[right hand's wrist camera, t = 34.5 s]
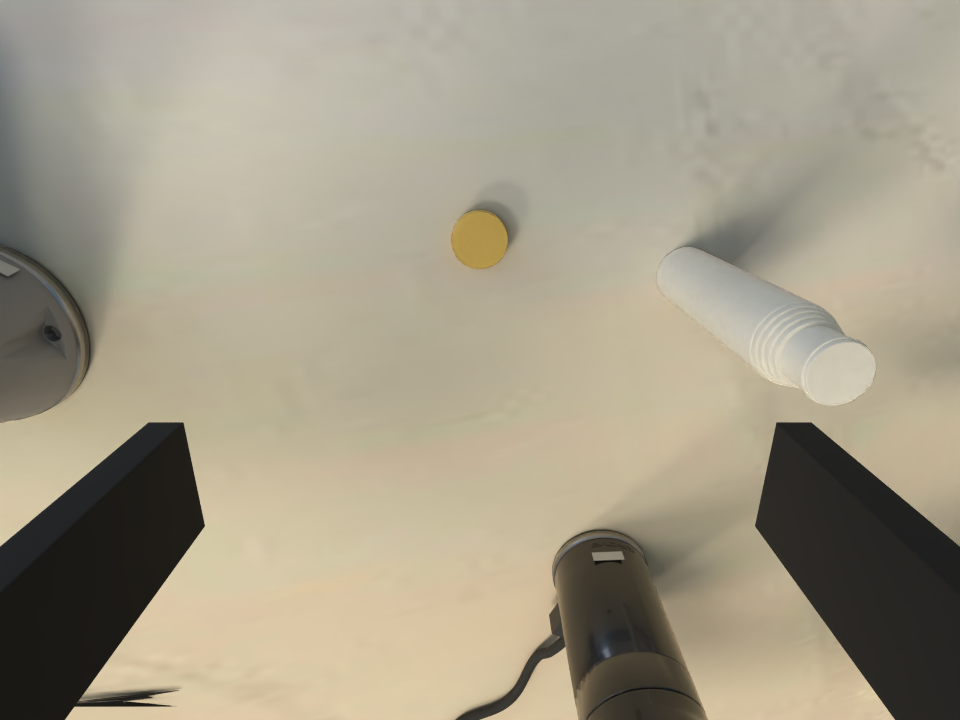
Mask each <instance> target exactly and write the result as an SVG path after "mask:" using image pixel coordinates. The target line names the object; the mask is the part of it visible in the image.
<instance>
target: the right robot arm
mask: <svg viewBox="0 0 960 720" xmlns="http://www.w3.org/2000/svg"><path fill="white" fill-rule="evenodd" d="M88 361H89V339H88V334H87V330H86V327H85V323H84V321H83V318H82V316H81V314H80V312H79V310H78V308H77V306H76V304H75V303H74V301H73V299H72V298H71V296H70V295H69V294H68V292H67V291H66V290H65V289H64V287H63V286H62V285H61V284H60V283H59V282H58V281H57V280H56V279H55V278H54V277H53V276H52V275H51V274H50V273H49V272H48V271H47V270H45V269H44V268H43V267H41V266H40V265H39V264H37V263H36V262H34V261H33V260H31V259H30V258H28V257H26V256H24V255H23V254H21V253H19V252H17V251H14V250H12V249H10V248H7V247H4V246H1V245H0V423H2V422H7V421H11V420H20V419H24V418H28V417H31V416H34V415H37V414H40V413H42V412H44V411H46V410H48V409H50V408H52V407H53V406H55V405H57V404H58V403H60V402H61V401H63V400H65V399H66V398H67V397H69V396H70V395H71V394H72V393H73V392H74V391H75V390H76V389H77V387H78V386H79V385H80V383H81V381H82V379H83V378H84V375H85V373H86V370H87V366H88ZM204 527H205V524H204V520H203V515H202V510H201V505H200V500H199V495H198V491H197V486H196V481H195V476H194V471H193V467H192V462H191V457H190V452H189V447H188V442H187V438H186V433H185V428H184V423H148V424H146V425H145V426H144V427H143V428H142V429H140V430H139V431H138V432H137V433H136V434H134V435H133V436H132V437H131V438H130V439H128V440H127V441H126V442H125V443H124V444H122V445H121V446H120V447H119V448H118V449H117V450H115V451H114V452H113V453H112V454H111V455H109V456H108V457H107V458H106V459H105V460H103V461H102V462H101V463H100V464H99V465H97V466H96V467H95V468H94V469H93V470H91V471H90V472H89V473H88V474H87V475H85V476H84V477H83V478H82V479H81V480H79V481H78V482H77V483H76V484H75V485H73V486H72V487H71V488H70V489H69V490H67V491H66V492H65V493H64V494H63V495H61V496H60V497H59V498H58V499H57V500H56V501H54V502H53V503H52V504H51V505H50V506H48V507H47V508H46V509H45V510H44V511H42V512H41V513H40V514H39V515H38V516H36V517H35V518H34V519H33V520H32V521H30V522H29V523H28V524H27V525H26V526H24V527H23V528H22V529H21V530H20V531H18V532H17V533H16V534H15V535H14V536H12V537H11V538H10V539H9V540H8V541H6V542H5V543H4V544H3V545H2V546H0V720H65V719H66V717H67V716H68V715H69V713H70V712H71V711H72V709H73V708H74V706H75V705H76V704H77V702H78V701H79V699H80V698H81V697H82V695H83V694H84V693H85V691H86V690H87V688H88V687H89V686H90V684H91V683H92V681H93V680H94V679H95V677H96V676H97V675H98V673H99V672H100V670H101V669H102V668H103V666H104V665H105V663H106V662H107V661H108V659H109V658H110V657H111V655H112V654H113V652H114V651H115V650H116V648H117V647H118V646H119V644H120V643H121V641H122V640H123V639H124V637H125V636H126V634H127V633H128V632H129V630H130V629H131V628H132V626H133V625H134V623H135V622H136V621H137V619H138V618H139V616H140V615H141V614H142V612H143V611H144V610H145V608H146V607H147V605H148V604H149V603H150V601H151V600H152V599H153V597H154V596H155V594H156V593H157V592H158V590H159V589H160V587H161V586H162V585H163V583H164V582H165V581H166V579H167V578H168V576H169V575H170V574H171V572H172V571H173V569H174V568H175V567H176V565H177V564H178V563H179V561H180V560H181V558H182V557H183V556H184V554H185V553H186V551H187V550H188V549H189V547H190V546H191V545H192V543H193V542H194V540H195V539H196V538H197V536H198V535H199V534H200V532H201V531H202V529H203V528H204ZM755 527H756V528H757V529H758V531H759V532H760V534H761V535H762V536H763V538H764V539H765V540H766V542H767V543H768V545H769V546H770V547H771V549H772V550H773V551H774V553H775V554H776V556H777V557H778V558H779V560H780V561H781V563H782V564H783V565H784V567H785V568H786V569H787V571H788V572H789V574H790V575H791V576H792V578H793V579H794V581H795V582H796V583H797V585H798V586H799V587H800V589H801V590H802V592H803V593H804V594H805V596H806V597H807V599H808V600H809V601H810V603H811V604H812V605H813V607H814V608H815V610H816V611H817V612H818V614H819V615H820V616H821V618H822V619H823V621H824V622H825V623H826V625H827V626H828V628H829V629H830V630H831V632H832V633H833V634H834V636H835V637H836V639H837V640H838V641H839V643H840V644H841V646H842V647H843V648H844V650H845V651H846V652H847V654H848V655H849V657H850V658H851V659H852V661H853V662H854V663H855V665H856V666H857V668H858V669H859V670H860V672H861V673H862V675H863V676H864V677H865V679H866V680H867V681H868V683H869V684H870V686H871V687H872V688H873V690H874V691H875V693H876V694H877V695H878V697H879V698H880V699H881V701H882V702H883V704H884V705H885V706H886V708H887V709H888V711H889V712H890V713H891V715H892V716H893V717H894V719H895V720H960V546H958V545H957V544H956V543H955V542H954V541H952V540H951V539H950V538H949V537H948V536H946V535H945V534H944V533H943V532H942V531H940V530H939V529H938V528H937V527H936V526H934V525H933V524H932V523H931V522H930V521H928V520H927V519H926V518H925V517H924V516H922V515H921V514H920V513H919V512H918V511H916V510H915V509H914V508H913V507H912V506H910V505H909V504H908V503H907V502H906V501H904V500H903V499H902V498H901V497H900V496H899V495H897V494H896V493H895V492H894V491H893V490H891V489H890V488H889V487H888V486H887V485H885V484H884V483H883V482H882V481H881V480H879V479H878V478H877V477H876V476H875V475H873V474H872V473H871V472H870V471H869V470H867V469H866V468H865V467H864V466H863V465H861V464H860V463H859V462H858V461H857V460H855V459H854V458H853V457H852V456H851V455H849V454H848V453H847V452H846V451H845V450H843V449H842V448H841V447H840V446H839V445H838V444H836V443H835V442H834V441H833V440H832V439H830V438H829V437H828V436H827V435H826V434H824V433H823V432H822V431H821V430H820V429H818V428H817V427H816V426H815V425H814V424H812V423H776V428H775V433H774V438H773V442H772V447H771V452H770V457H769V462H768V466H767V471H766V476H765V481H764V486H763V491H762V495H761V500H760V505H759V510H758V515H757V520H756V524H755Z"/></svg>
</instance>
